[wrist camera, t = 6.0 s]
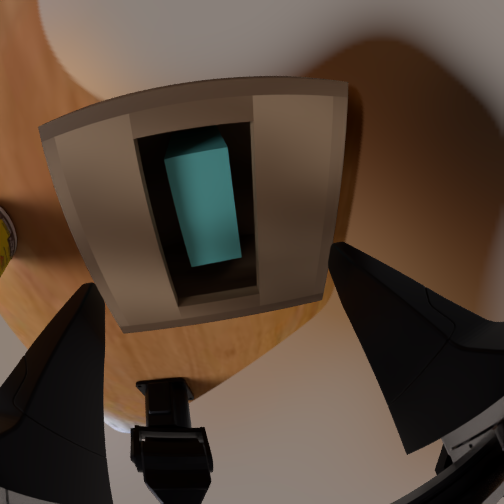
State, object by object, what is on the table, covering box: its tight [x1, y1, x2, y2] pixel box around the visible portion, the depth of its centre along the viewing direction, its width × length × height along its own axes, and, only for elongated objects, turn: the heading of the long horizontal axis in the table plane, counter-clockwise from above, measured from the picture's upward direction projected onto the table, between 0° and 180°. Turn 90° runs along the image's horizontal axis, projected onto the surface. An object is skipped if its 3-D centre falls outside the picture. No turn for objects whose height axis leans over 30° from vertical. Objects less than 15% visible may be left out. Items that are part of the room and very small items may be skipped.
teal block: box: [164, 125, 242, 267], centre depth 13 cm, size 6×2×5 cm, turn 4°
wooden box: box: [38, 76, 348, 333], centre depth 13 cm, size 11×11×7 cm
